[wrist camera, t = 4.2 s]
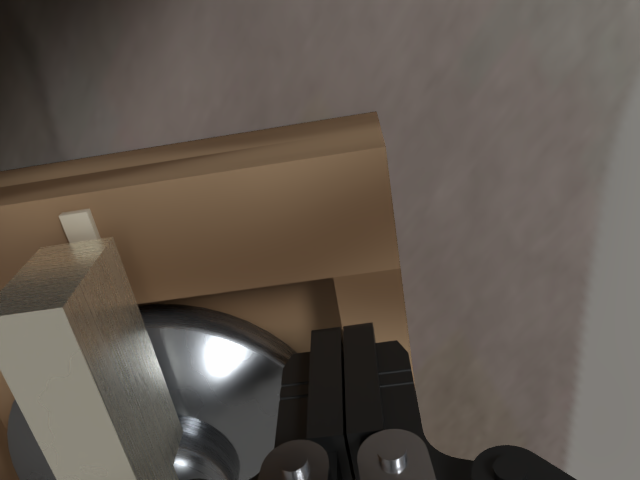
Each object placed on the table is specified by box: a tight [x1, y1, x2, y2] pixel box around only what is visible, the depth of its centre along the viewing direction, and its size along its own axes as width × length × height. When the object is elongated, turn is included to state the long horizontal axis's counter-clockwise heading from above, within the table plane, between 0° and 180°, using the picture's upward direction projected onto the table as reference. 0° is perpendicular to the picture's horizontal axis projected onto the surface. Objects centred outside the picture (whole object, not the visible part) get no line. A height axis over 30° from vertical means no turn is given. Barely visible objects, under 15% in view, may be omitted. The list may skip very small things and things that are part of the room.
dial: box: [0, 237, 297, 480], centre depth 17 cm, size 13×10×5 cm
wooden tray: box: [0, 112, 415, 480], centre depth 20 cm, size 18×15×3 cm
